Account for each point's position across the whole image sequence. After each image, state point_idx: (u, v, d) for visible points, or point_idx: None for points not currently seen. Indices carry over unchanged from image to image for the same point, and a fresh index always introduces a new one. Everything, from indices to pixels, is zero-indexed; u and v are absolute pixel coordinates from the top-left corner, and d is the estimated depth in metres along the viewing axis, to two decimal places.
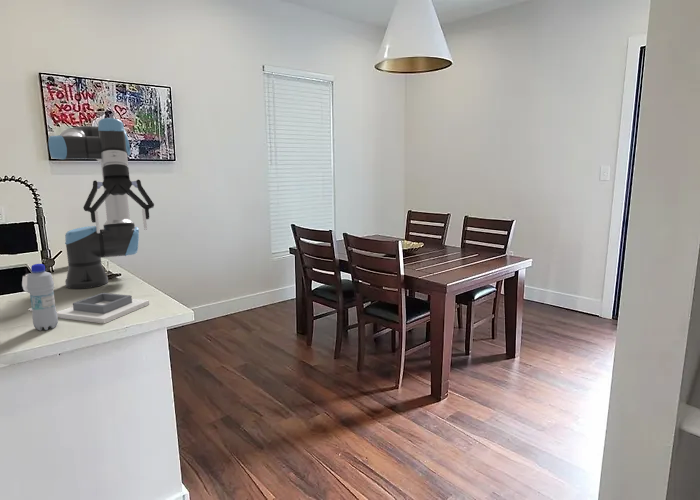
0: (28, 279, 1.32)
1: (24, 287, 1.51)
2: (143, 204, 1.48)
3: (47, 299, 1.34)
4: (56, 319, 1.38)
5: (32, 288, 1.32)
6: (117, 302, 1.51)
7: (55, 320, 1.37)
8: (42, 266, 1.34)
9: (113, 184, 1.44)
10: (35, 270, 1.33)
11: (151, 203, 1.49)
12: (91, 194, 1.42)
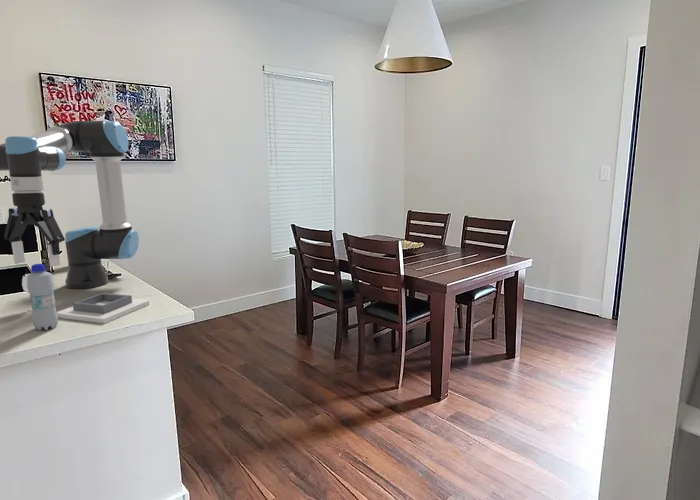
0: (28, 279, 1.32)
1: (24, 287, 1.51)
2: (48, 239, 1.29)
3: (47, 299, 1.34)
4: (56, 319, 1.38)
5: (32, 288, 1.32)
6: (117, 302, 1.51)
7: (55, 320, 1.37)
8: (42, 266, 1.34)
9: (21, 215, 1.29)
10: (35, 270, 1.33)
11: (55, 238, 1.28)
12: (8, 223, 1.32)
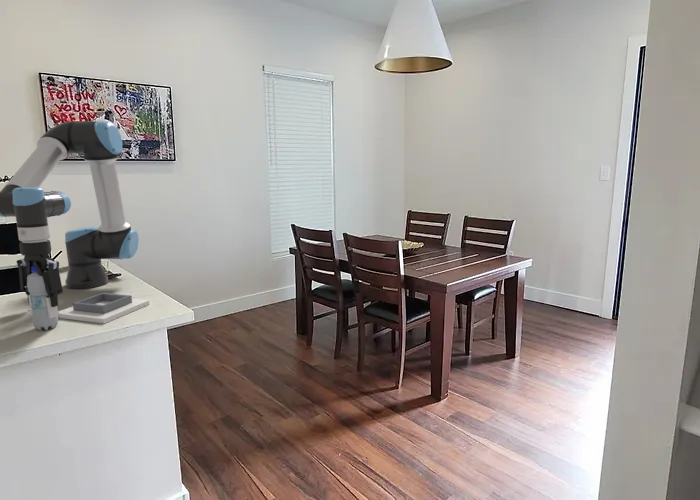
0: (28, 279, 1.32)
1: None
2: (47, 291, 1.33)
3: None
4: (56, 319, 1.38)
5: (32, 288, 1.32)
6: (117, 302, 1.51)
7: (55, 320, 1.37)
8: None
9: (28, 263, 1.32)
10: (35, 270, 1.33)
11: (53, 292, 1.33)
12: (20, 275, 1.35)
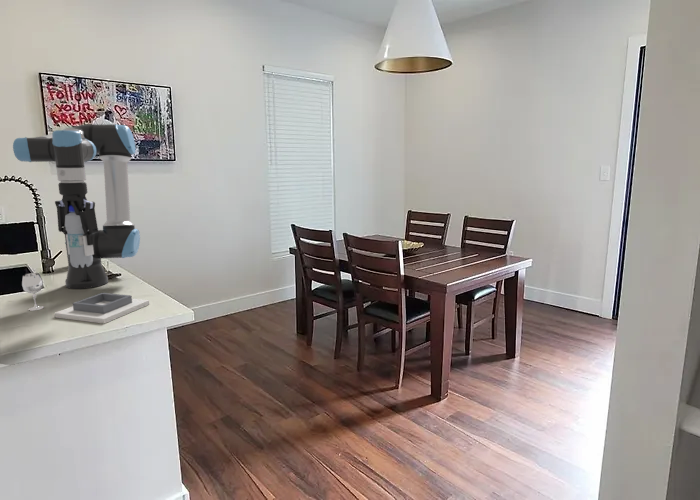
0: (66, 218, 1.40)
1: (24, 287, 1.51)
2: (84, 230, 1.41)
3: None
4: (91, 258, 1.46)
5: (70, 227, 1.40)
6: (117, 302, 1.51)
7: (90, 259, 1.45)
8: None
9: (66, 202, 1.40)
10: (72, 210, 1.40)
11: (90, 230, 1.41)
12: (58, 215, 1.43)
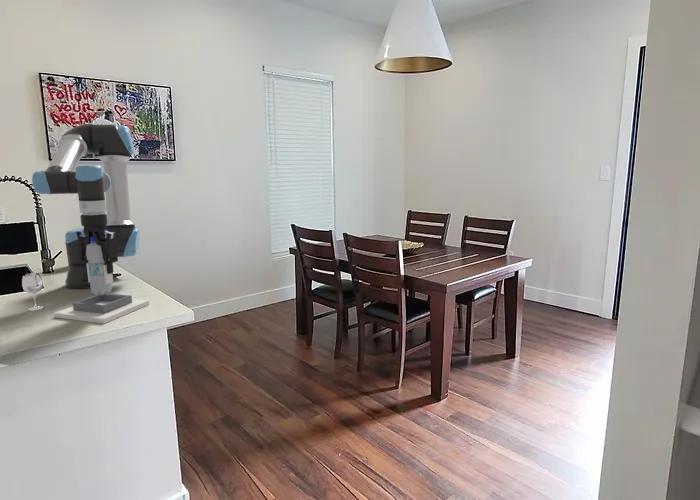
0: (87, 248, 1.47)
1: (24, 287, 1.51)
2: (105, 259, 1.48)
3: None
4: (111, 285, 1.52)
5: (91, 256, 1.47)
6: (117, 302, 1.51)
7: (110, 286, 1.52)
8: None
9: (87, 233, 1.47)
10: (94, 240, 1.47)
11: (110, 260, 1.47)
12: (79, 245, 1.50)
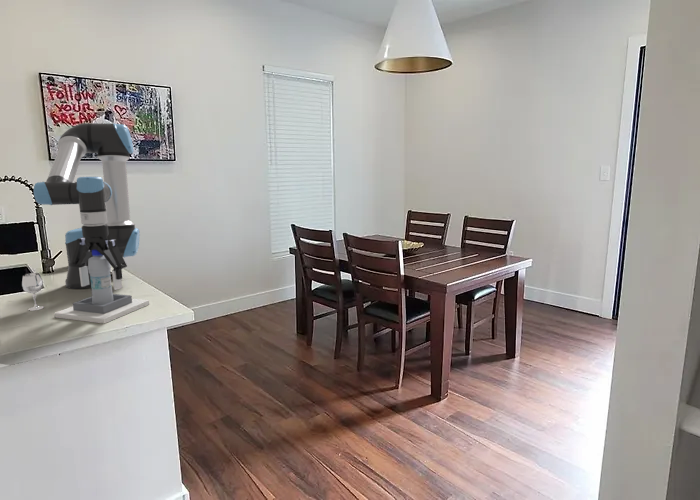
0: (89, 262, 1.48)
1: (24, 287, 1.51)
2: (113, 266, 1.47)
3: (105, 280, 1.50)
4: (112, 298, 1.53)
5: (93, 270, 1.48)
6: (117, 302, 1.51)
7: (111, 299, 1.53)
8: None
9: (89, 244, 1.48)
10: (95, 254, 1.48)
11: (119, 265, 1.47)
12: (76, 251, 1.51)
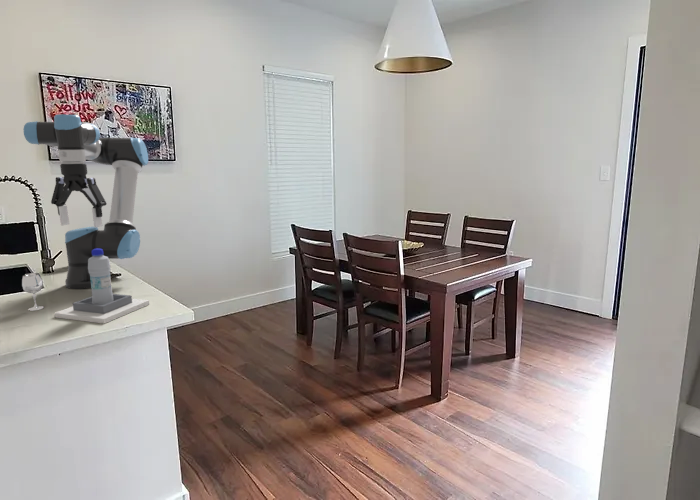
0: (89, 262, 1.48)
1: (24, 287, 1.51)
2: (92, 203, 1.51)
3: (105, 280, 1.50)
4: (112, 298, 1.53)
5: (93, 270, 1.48)
6: (117, 302, 1.51)
7: (111, 299, 1.53)
8: (101, 250, 1.49)
9: (68, 182, 1.50)
10: (95, 254, 1.48)
11: (99, 203, 1.50)
12: (55, 190, 1.53)
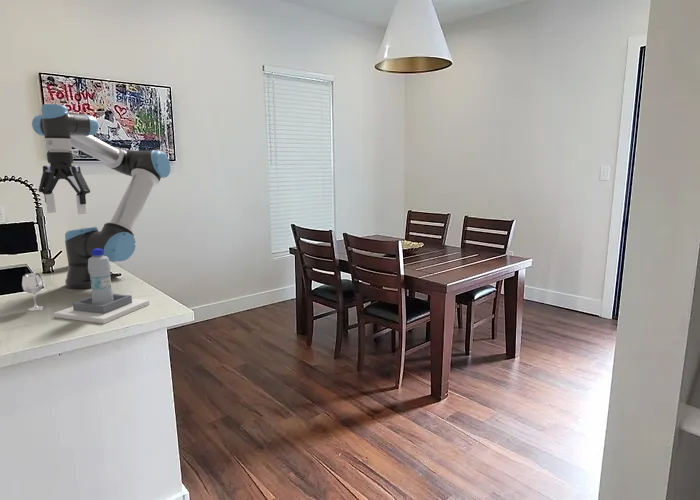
0: (89, 262, 1.48)
1: (24, 287, 1.51)
2: (76, 190, 1.55)
3: (105, 280, 1.50)
4: (112, 298, 1.53)
5: (93, 270, 1.48)
6: (117, 302, 1.51)
7: (111, 299, 1.53)
8: (101, 250, 1.49)
9: (54, 170, 1.55)
10: (95, 254, 1.48)
11: (82, 190, 1.54)
12: (42, 178, 1.58)
